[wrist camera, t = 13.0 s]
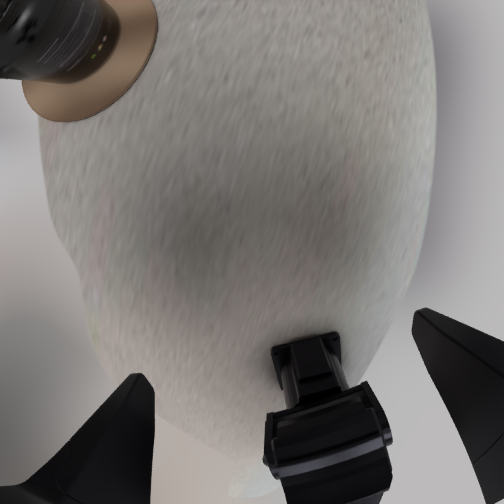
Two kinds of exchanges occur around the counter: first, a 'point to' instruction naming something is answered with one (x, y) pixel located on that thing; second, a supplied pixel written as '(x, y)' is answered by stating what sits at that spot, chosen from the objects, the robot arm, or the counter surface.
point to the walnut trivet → (101, 69)
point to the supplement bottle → (55, 39)
